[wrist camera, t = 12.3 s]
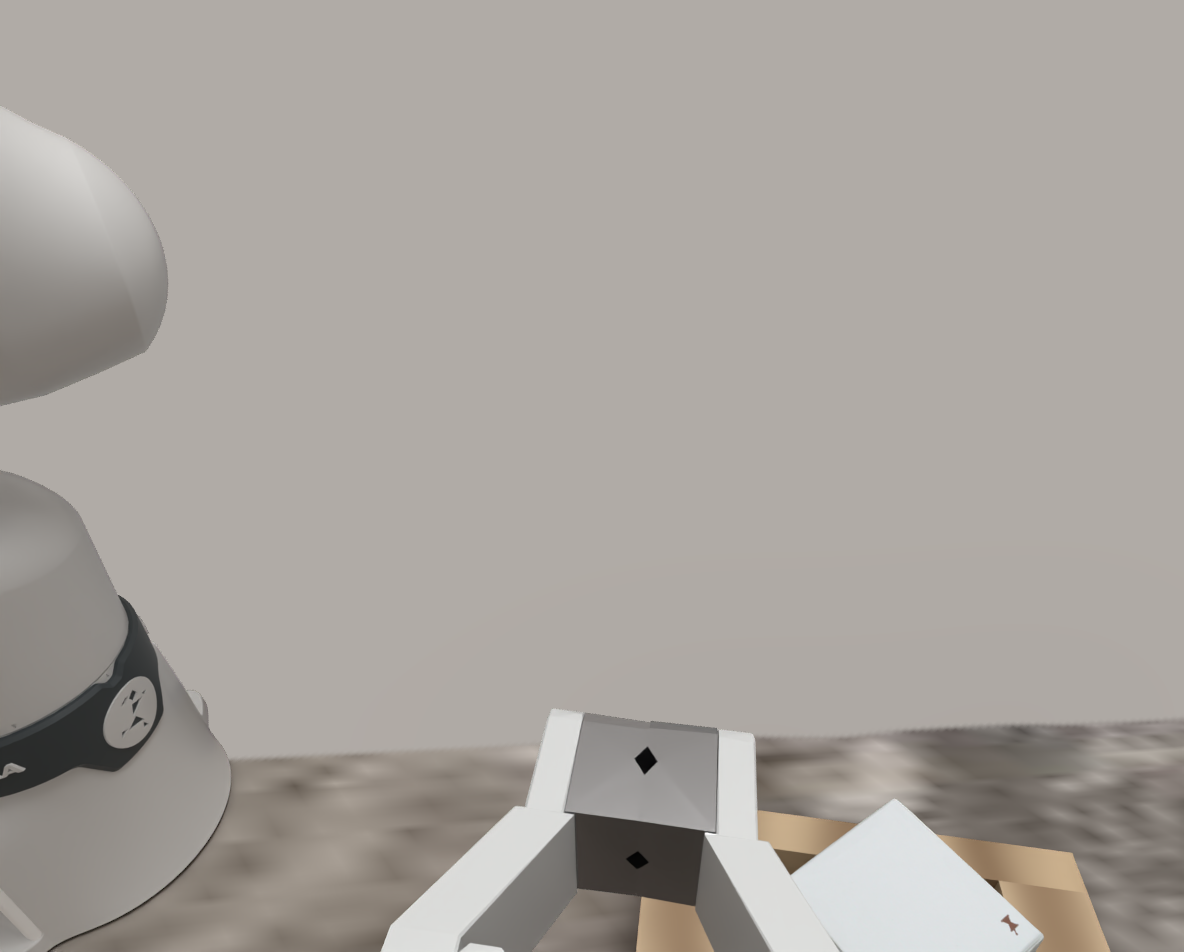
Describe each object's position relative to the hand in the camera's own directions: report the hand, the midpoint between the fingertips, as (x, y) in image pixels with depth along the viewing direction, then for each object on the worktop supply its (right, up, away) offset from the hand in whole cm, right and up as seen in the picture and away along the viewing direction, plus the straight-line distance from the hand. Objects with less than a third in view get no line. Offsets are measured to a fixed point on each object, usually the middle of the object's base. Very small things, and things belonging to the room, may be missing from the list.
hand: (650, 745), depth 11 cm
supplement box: (+12, -24, +26) cm, 37 cm away
